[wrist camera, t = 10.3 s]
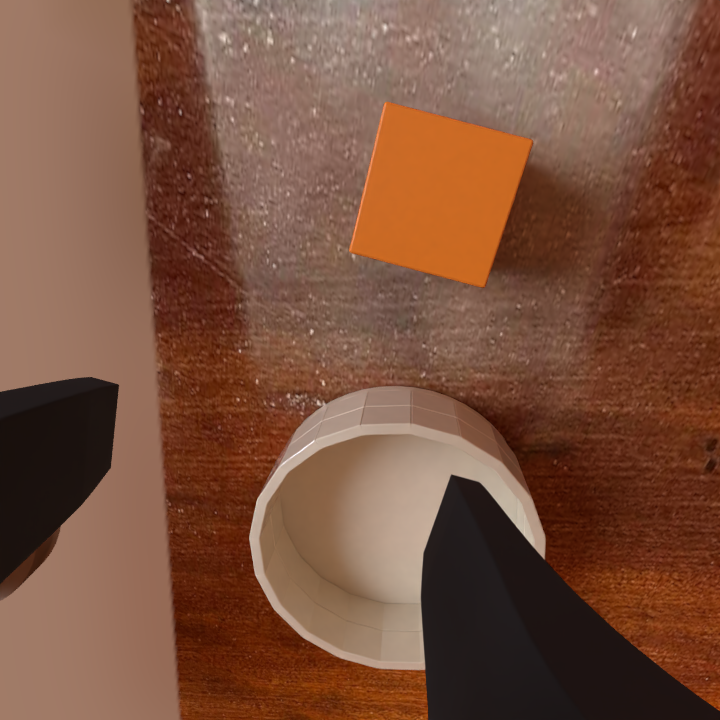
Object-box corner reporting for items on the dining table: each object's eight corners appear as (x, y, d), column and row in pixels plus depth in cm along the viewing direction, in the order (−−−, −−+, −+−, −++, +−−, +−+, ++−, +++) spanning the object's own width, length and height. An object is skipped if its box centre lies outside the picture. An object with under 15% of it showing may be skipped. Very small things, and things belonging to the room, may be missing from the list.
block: (361, 239, 18) (348, 252, 15) (390, 120, 17) (384, 100, 13) (470, 268, 18) (484, 288, 15) (507, 150, 17) (534, 139, 13)
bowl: (255, 566, 23) (229, 628, 20) (302, 355, 20) (280, 388, 17) (477, 627, 23) (488, 699, 20) (562, 425, 20) (593, 472, 17)
